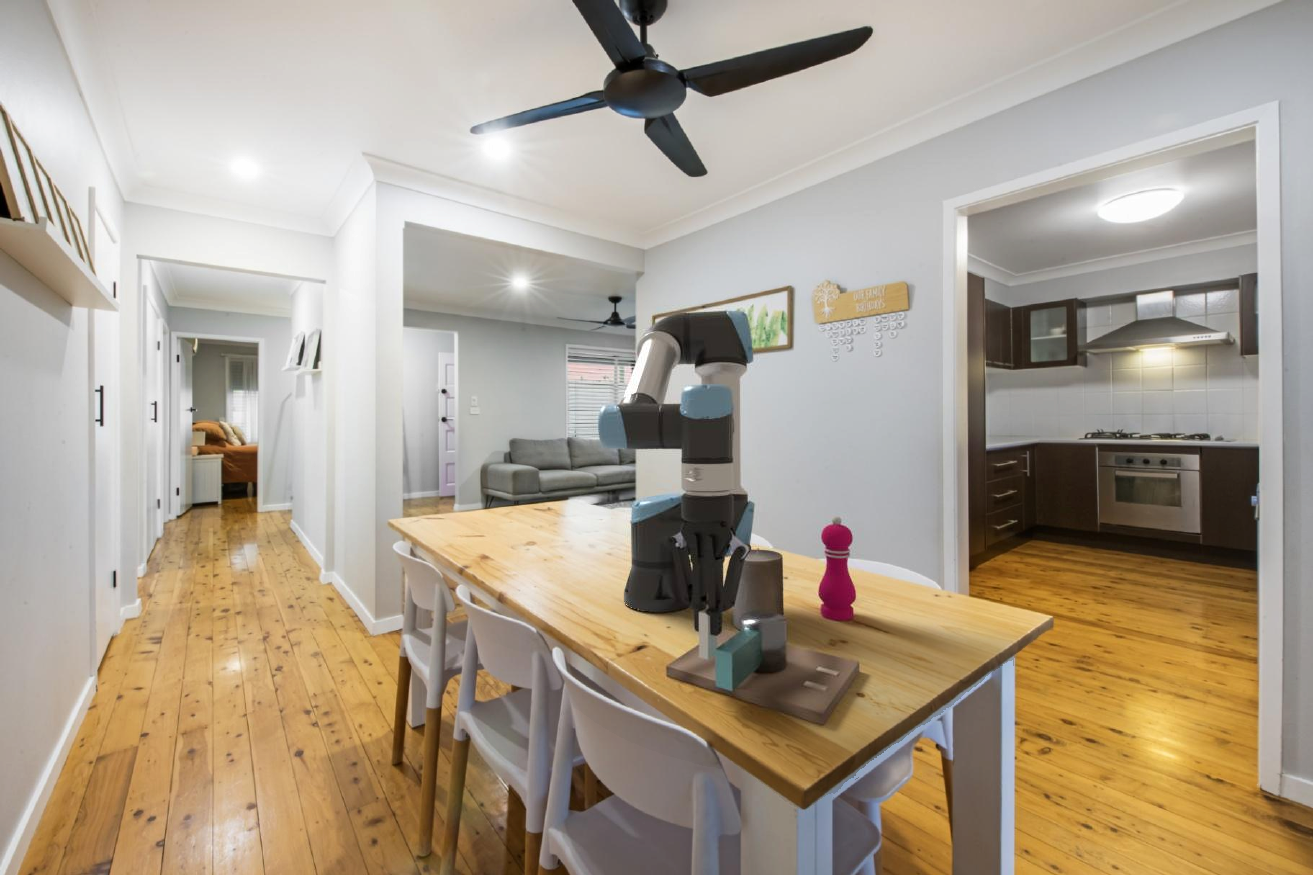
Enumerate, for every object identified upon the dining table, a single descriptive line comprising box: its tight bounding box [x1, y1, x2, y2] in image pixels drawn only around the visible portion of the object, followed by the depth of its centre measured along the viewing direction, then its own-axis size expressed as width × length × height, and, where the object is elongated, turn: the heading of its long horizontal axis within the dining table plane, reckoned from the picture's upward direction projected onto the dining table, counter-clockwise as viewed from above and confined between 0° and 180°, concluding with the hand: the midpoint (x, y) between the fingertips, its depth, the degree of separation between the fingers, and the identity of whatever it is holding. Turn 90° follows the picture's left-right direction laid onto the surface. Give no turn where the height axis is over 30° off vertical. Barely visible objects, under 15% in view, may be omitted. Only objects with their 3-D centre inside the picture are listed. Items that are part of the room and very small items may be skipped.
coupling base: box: [665, 628, 860, 726], centre depth 81 cm, size 24×18×2 cm
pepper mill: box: [817, 516, 857, 622], centre depth 106 cm, size 7×7×20 cm
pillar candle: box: [732, 547, 785, 631], centre depth 101 cm, size 10×10×15 cm
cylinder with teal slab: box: [715, 611, 788, 691], centre depth 77 cm, size 7×16×7 cm, turn 145°
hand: (708, 655), depth 76 cm, fingers closed
